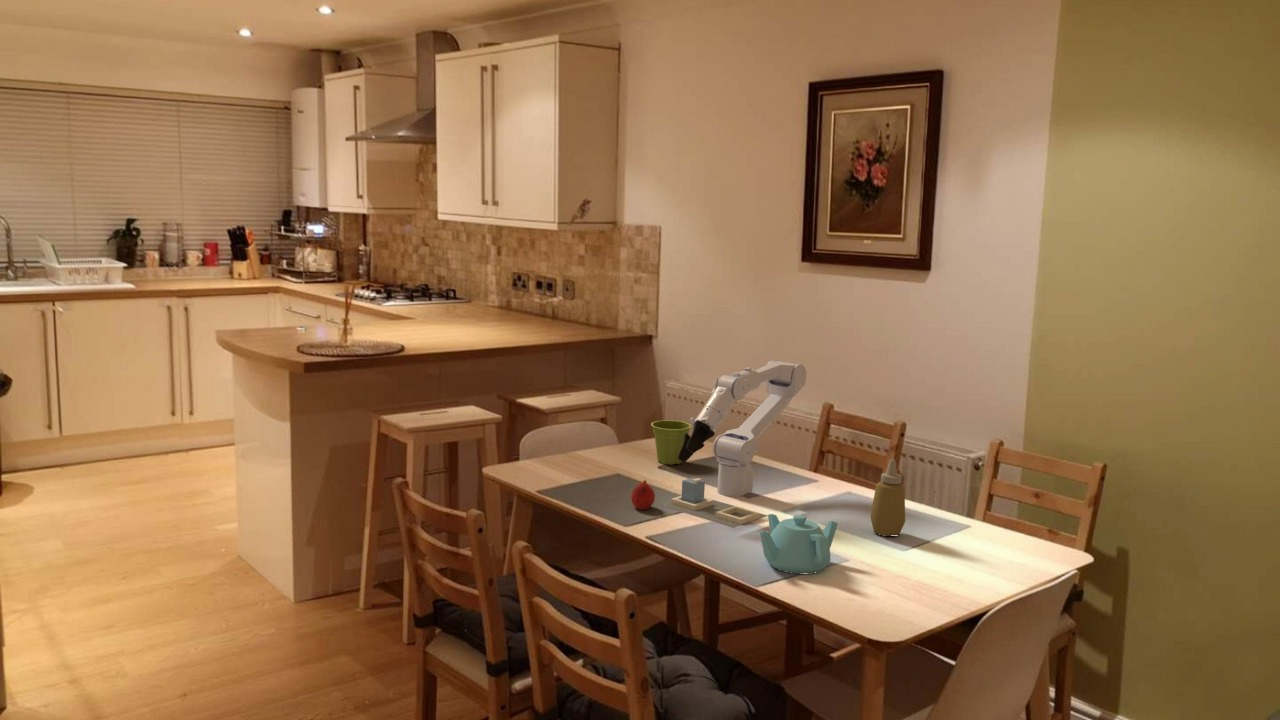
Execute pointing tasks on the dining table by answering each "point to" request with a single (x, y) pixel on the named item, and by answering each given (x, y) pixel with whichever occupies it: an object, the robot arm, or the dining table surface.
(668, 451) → the plant pot
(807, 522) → the teapot
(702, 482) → the plug
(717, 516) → the panel
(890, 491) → the squeeze bottle
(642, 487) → the red pomegranate
